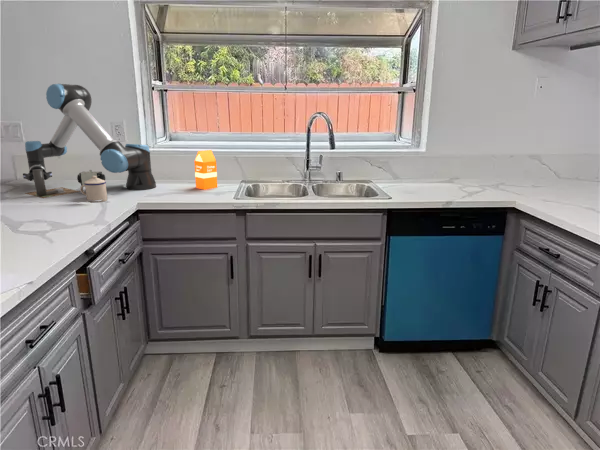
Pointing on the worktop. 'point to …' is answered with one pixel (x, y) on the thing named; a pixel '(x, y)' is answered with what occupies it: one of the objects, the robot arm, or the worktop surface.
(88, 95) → the robot arm
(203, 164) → the orange juice
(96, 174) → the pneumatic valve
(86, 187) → the teacup with lid
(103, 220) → the worktop surface
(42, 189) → the peg lever
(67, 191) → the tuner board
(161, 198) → the worktop surface
